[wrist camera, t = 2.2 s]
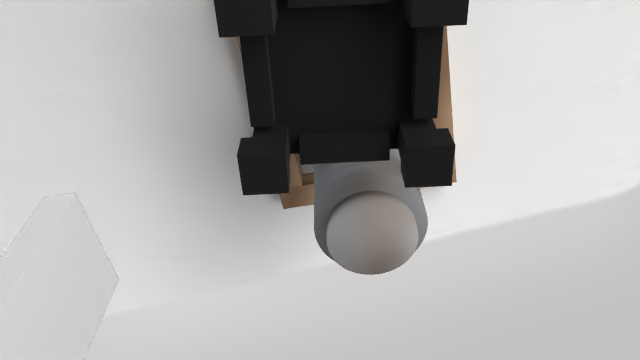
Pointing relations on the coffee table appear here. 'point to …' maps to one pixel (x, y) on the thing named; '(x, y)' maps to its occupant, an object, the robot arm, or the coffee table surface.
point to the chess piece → (341, 85)
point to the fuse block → (368, 202)
